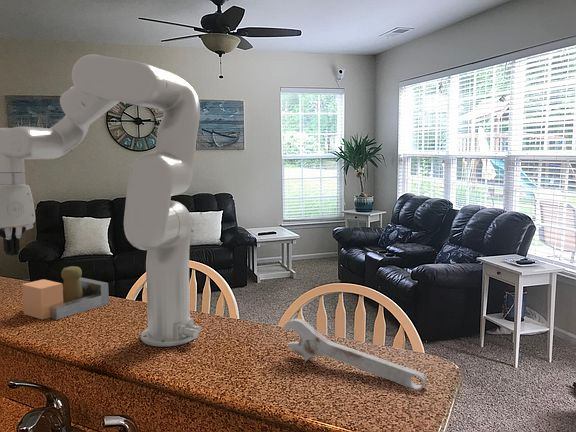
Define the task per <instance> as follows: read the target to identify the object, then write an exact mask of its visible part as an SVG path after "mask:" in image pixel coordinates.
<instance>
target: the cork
mask: <svg viewBox="0 0 576 432" xmlns="http://www.w3.org/2000/svg"><path fill="white" fill-rule="evenodd" d="M82 274H83V272H82V269H81V267H79V266H74V265H72V266H67V267H63V269H62V270H61V274H60V275H61V278H62V280H63V282H62V285H63V303H66V302H70V301H73V300H77V299H80V298H84V297H83V291H82V286H81V281H80V277H82V276H83V275H82Z"/></svg>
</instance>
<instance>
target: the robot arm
mask: <svg viewBox="0 0 576 432" xmlns="http://www.w3.org/2000/svg"><path fill="white" fill-rule="evenodd" d="M71 80H72V83H73V86H71V87H69V88H68V89H67V90H65V91H64V92H63V93H62V94H61V96H60V98H59V104H60V107H61V109H62V111H63V113H64V114H65V116H63V118H61V119H60V120H59V121H58V122H56V123H55V124H53V125H52V126H50V127H49V128H47V127H38V126H37V127H36V126H15V127H0V238H1V240H3V252H4V253H5V255H7V256H13V257H14V256H19V251H20V250H21V249H20V239H21V238H22V235H23V234H24V233H25V231H28V230H31V229H33V228H34V223H35V222H36V212H35V211H36V210H35V204H34V198H33V195H32V194H33V193H32V191H31V190H32V189H31V187H30V184H29V185H28V184H26V170H25V168H26V167H25V160H54V159H58V158H60V157H62V156H65V155H66V154H67V153H69V152H70V151H71V150H73V149H75V147H77V146H78V145H80V144H81V142H82V141H83V140H84V139H85V137H86V136H87V134H88V132H89V129H90V128H89V127H90V125H91V124H93V123H94V122H95V121H96V120H98V119H99V118H100V117H102V116H103V115H105V114H106V113H107V112H108V111H110V110H111V109H113V108H114V107H116V105H118V104H119V103H125V104H129V105H132V106H133V105H134V106H137V107H143V108H150V109H155V110H159V111H161V112H162V113H163V115H162V118H161V120H160V123H159V125H158V128H157V132H156V143H155V149H154V151H151V152H146V153H144V154H142V155H140V156H139V157H138V158H136V159H135V161H134V162H133V164H132V165H131V168H130V171H129V172H128V173H129V174H128V179H127V186H126V197H125V205H124V206H125V207H124V215H123V230H124V235H125V238H126V239H127V241H128V242H129V244H130V245H132V247H134V248H136V249H138V250H141V251H142V250H143V251H146V260H145V275H146V276H145V278H146V279H145V280H146V309H147V311H146V313H147V328H146V329H144V330H142V332H141V333H140V339H141V341H142V342H143V344H146V345H148V346H151V347H159V348H161V347H165V348H166V347H175V346H181V345H184V344H187V343H190V342H191V341H193V340H195V339H197V338H198V337H199V334H200V333H201V332H202V330H203V329H202V327H201V326H199V325H195V324H194V321H195V320H194V317H191V298H190V297H191V296H190V248H191V247H190V246H191V237H192V228H193V225H192V224H193V221H192V216H191V213H190V211H189V210H188V209H187V207H186V206H185V205H184V204H182V203H181V202H180V201H177V200H176V201H175V200H171V199H172V197H173V196H178V195H180V194H184V193H185V192H186V191H188V190H189V188H190V186H191V185H192V181H193V174H194V166H195V165H194V164H195V159H196V151H197V150H196V149H197V141H198V131H199V125H200V119H201V104H200V100H199V96H198V94H197V92H196V91H195V89H194V88H193V87H192V86H191V84H189V82H187V81H186V80H185V79H184V78H182V77H180V76H179V75H178V74H175V73H173V72H171V71H168V70H166V69H162V68H159V67H157V66H155V65H151V64H148V63H145V62H140V61H136V60H129V59H124V58H123V59H122V58H117V57H112V56H105V55H100V54H96V53H93V54H90V53H89V54H86V55H83V56H82V57H80V58H79V59H78V60H76V62H75V63H74V64H73V67H72V70H71Z"/></svg>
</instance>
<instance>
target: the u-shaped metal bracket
mask: <svg viewBox="0 0 576 432" xmlns="http://www.w3.org/2000/svg"><path fill="white" fill-rule="evenodd" d="M80 281H81V286H82V291H83V297H84V298H80V299H77V300H73V301H70V302H66V303H63V304H59V305H56V306H52V307H50V312H51V317H50V319H51V318H53V319H52V320H55V319H56V321H58V319H59V320H61V318H62V319H65V318H67V316H68V317H71V316H74V314H75V315H77V313H78V314H80V313H83V312H86V311H87V312H88V311H89V310H93V309H96V308H100V307H102V306H103V307H104V306H105V305H106V306H107V305H108V304H110V299H109V298H110V296H109V294H110V293H109V282H105V281H101V280H95V279H91V278H86V277H82V276H81V277H80ZM64 317H65V318H64Z"/></svg>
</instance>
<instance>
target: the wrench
mask: <svg viewBox="0 0 576 432" xmlns="http://www.w3.org/2000/svg"><path fill="white" fill-rule="evenodd" d="M285 330H286V331H288V330H294V331H295V332H296V333H297V335H298V336H299V341H291V342H288V343H287V344H286V345H287V347H288V348H289V349H290V351H292V352H294V353H295V354H297V355H298V356H302V357H303V358H304V361H305V362H307V361H308V360H309V361H310V362H313V361H314V360H315V359H314V358H315V357H327V358H331V359H332V360H336V361H339V362H341V363H344V364H347V365H350V366H352V367H354V368H356V369H359V370H362V371H365V372H367V373H370V374H372V375H375V376H378V377H380V378H383V379H386V380H389V381H391V382H393V383H396V384H399V385H402V386H404V387H406V388H409V389H413V390H417V391H421V390H422V389H424V387H425V385H426V384H427V378H426V376H425V375H424V373H423V372H421V371H418V370H415V369H413V368H410V367H407V366H403V365H401V364H398V363H395V362H393V361H389V360H387V359H383V358H380V357H378V356H375V355H372V354H369V353H367V352H366V353H365V352H363V351H360V350H357V349H354V348H351V347H349V346H345V345H343V344H340V343H337V342H334V341H331V340H329V338H327V337H325V336H324V334H321V333H320V332H319V331H317V330H316V329H315V328H314V327H313V326H311V324H309V322H307V321H306V320H305V319H303V318H297V317H296V318H292V319H290V320H289V321H287V322H286V323H284V325H283V331H285ZM414 376H416V377H418V378H419V379H420V380H421V384H416V383H414V381H413V378H412V377H414Z"/></svg>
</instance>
